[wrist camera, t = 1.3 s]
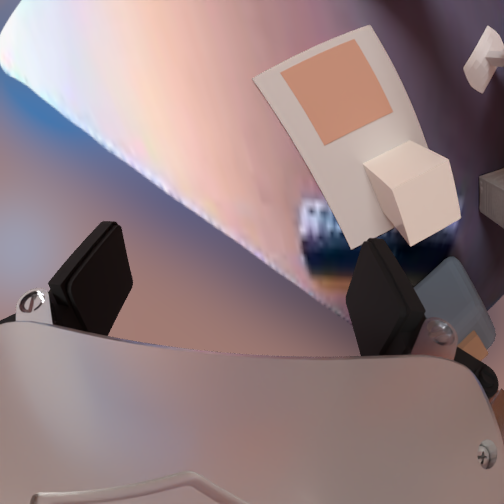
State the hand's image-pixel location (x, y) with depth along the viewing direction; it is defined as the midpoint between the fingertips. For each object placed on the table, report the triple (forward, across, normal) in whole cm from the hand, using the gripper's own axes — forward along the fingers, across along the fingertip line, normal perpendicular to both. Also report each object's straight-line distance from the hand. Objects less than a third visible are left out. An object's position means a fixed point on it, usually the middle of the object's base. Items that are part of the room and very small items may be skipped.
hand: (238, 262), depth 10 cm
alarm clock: (+25, -35, +24) cm, 49 cm away
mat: (+25, -13, -2) cm, 28 cm away
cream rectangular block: (+24, -18, +2) cm, 30 cm away
